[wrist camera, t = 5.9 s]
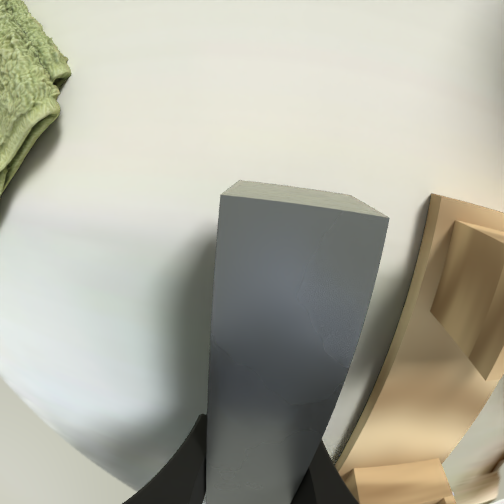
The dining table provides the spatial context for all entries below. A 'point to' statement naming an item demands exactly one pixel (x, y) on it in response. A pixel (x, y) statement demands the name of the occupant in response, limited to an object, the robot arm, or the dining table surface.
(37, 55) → the washcloth
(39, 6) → the dining table surface
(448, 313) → the tan piece
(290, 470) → the rail
